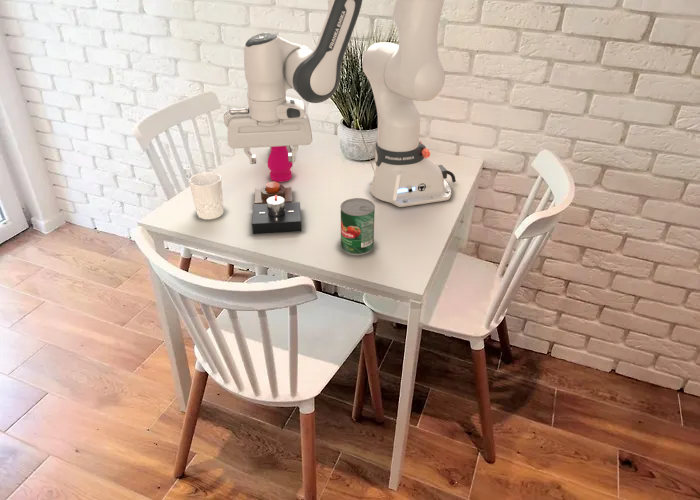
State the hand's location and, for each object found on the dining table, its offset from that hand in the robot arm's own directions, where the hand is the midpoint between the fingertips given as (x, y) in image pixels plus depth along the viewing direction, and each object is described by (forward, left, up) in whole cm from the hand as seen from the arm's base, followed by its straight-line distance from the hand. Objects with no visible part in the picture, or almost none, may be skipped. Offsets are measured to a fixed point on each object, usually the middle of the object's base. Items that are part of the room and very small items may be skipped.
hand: (272, 162), depth 139 cm
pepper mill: (-1, -21, -15) cm, 26 cm away
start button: (+1, -7, -12) cm, 14 cm away
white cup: (+17, -2, -15) cm, 23 cm away
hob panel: (0, +5, -15) cm, 15 cm away
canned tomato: (-19, +18, -15) cm, 30 cm away
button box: (+1, -7, -15) cm, 17 cm away
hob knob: (0, +5, -12) cm, 13 cm away
